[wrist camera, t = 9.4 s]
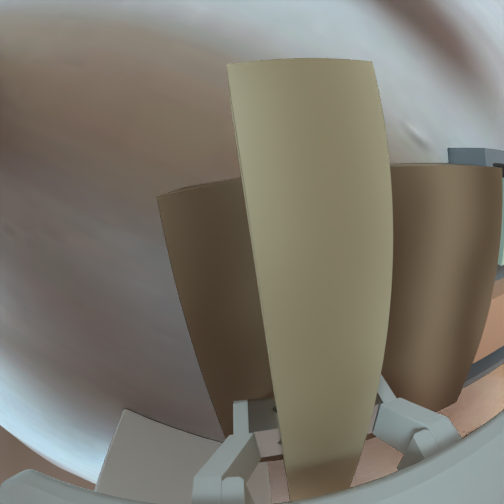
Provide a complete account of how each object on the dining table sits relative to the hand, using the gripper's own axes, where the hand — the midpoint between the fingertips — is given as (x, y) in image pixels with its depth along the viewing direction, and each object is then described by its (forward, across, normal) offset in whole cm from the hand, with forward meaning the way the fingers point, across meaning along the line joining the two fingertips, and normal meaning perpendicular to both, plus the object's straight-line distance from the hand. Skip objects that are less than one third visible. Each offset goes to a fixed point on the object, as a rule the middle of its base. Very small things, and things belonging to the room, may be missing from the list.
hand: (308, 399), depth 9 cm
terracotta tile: (+4, -18, +4) cm, 19 cm away
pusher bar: (+1, 0, 0) cm, 1 cm away
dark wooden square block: (+7, -4, 0) cm, 8 cm away
